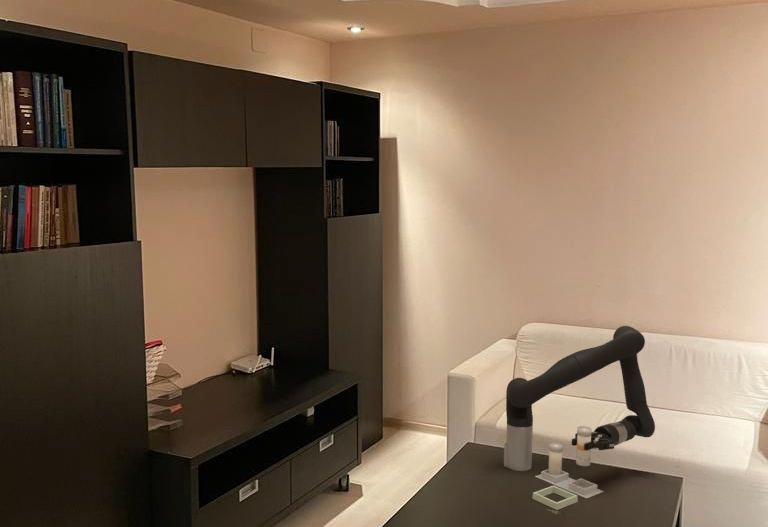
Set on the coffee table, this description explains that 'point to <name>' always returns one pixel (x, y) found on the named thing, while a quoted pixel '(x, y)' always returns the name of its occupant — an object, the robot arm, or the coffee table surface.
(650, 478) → the coffee table surface
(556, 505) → the tray
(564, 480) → the fuse board
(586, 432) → the cylinder
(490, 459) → the coffee table surface
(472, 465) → the coffee table surface
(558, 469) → the cylinder
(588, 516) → the coffee table surface
